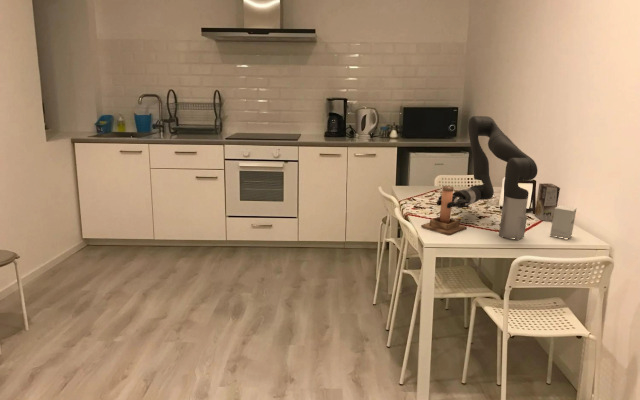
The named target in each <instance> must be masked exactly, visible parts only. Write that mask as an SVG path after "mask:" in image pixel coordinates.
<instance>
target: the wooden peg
mask: <svg viewBox="0 0 640 400" xmlns="http://www.w3.org/2000/svg"><path fill="white" fill-rule="evenodd" d="M441 189H442V191H441V195H442V199H441V205H440V208H439V209H440V211H439V217H440V219H439V221H440V222H443V223H449V222H450V219H451V216H452V214H451V211H452V207H451V208H447V204H448V203H449V202H452V196H453V193H454V186H452V185H442V188H441Z"/></svg>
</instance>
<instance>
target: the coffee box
mask: <svg viewBox="0 0 640 400" xmlns="http://www.w3.org/2000/svg"><path fill="white" fill-rule="evenodd" d="M560 190H561V187H560V186H557V185H555V184H553V183H540V182H539V183H538V190H537V198H536V204H535V211H534V216H535V217H537V218H538V219H539V220H540V221H542V222H543V221H544V222H553V216H554V210H555V208H556V207H557V206H558V202H559V198H560V197H559V195H560Z"/></svg>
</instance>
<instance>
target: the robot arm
mask: <svg viewBox="0 0 640 400" xmlns="http://www.w3.org/2000/svg"><path fill="white" fill-rule="evenodd" d="M467 125H468V126H467V131H468V139H469V143H470V149H471V153H472V162H473V163H472V164H473V167H472V168H473V170H472V171H473V178H474V180H476V181H481V182H482V184H478V185H477V184H476V185H472V186H470V187H469V188H463V189H460V190H457V191H453V196H452V202H449V203H448V204H447V208H451V209H452V208H457V209H462V208H468V207H469V206H470V205H473V204H475V203H477V202H479V201H482V200H484V201H486V200H487V201H488V200H491V199H492V198H493V197H494V193H495V191H494V186H493V183H492V181H491V176H490V162H489V158H488V157H487V154H486V153H485V151H484V150H483V147H482V146H481V144H480V141H479V137H487V138H489V139H488V141H487V146H488V149H489V151H490V152H491V154H493V155H494V156H495V157H496V158H497V159H498V160H500V161H503V162H505V163H506V166H505V173H504V174H505V176H504V185H503V186H504V195H503V201H502V209H501V210H502V211H501V217H500V223H499V230H498V235H499V236H500V235H501V236H503V237H506V238H505V239H507V238H515V239H519V240H521V239H520V238H522V237H524V238H525V233H526V226H527V219H528V215H527V213H526V212H527V206H528V200H529V190H527V189H525V188H523V187H521V186H519V181H521V182H524V181H527V182H528V181H531V180H534V179H536V177H537V175H538V166H537V163H536V162H535V160H534V159H533V158H532V157H530V156H529V155H527V153H525V152H523V151H522V150H521V149H520V148H519V147H518V146H517V145H516V144H515V143H514V142H513V141H512V140H511V139H510V138H509V136H508V135H506V134H505V133H504V132H503V131H502V129H500V127H499V126H498V124H497V122H496V121H495V120H494V118H492V117H491V116H486V115H485V116H483V115H480V116H479V115H478V116H477V115H473V116H471V117H470V118H469V120H468V124H467ZM441 199H442V194H441V195H440V196H438V200H437V201H436V206H441ZM501 236H500V237H501ZM503 237H502V238H503ZM522 239H523V238H522Z"/></svg>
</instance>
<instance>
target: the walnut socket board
mask: <svg viewBox="0 0 640 400" xmlns="http://www.w3.org/2000/svg"><path fill="white" fill-rule="evenodd" d="M439 219H440V216H438V217H435V218H431V219H430V220H429V222H426V223H423V224H421V225H420V228H421V229H426V230H429V231H432V232H435V233H439V234H443V235H446V236H452V235H454V234H457V233H460V232H463V231H465V230H467V228H468V227H467V226H466V225H465V226H464V225H462V224H460V220H456V219H453V218H450V222H449V223H443V222H440V221H439Z"/></svg>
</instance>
